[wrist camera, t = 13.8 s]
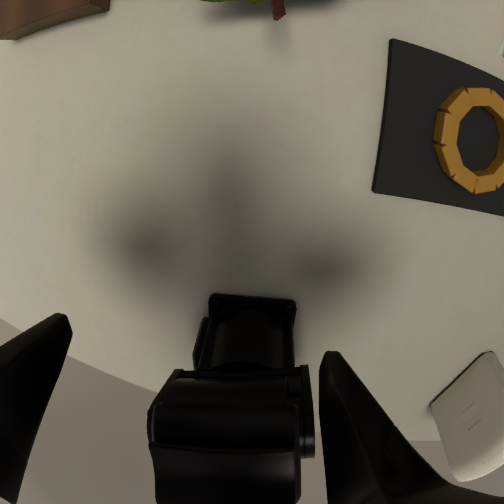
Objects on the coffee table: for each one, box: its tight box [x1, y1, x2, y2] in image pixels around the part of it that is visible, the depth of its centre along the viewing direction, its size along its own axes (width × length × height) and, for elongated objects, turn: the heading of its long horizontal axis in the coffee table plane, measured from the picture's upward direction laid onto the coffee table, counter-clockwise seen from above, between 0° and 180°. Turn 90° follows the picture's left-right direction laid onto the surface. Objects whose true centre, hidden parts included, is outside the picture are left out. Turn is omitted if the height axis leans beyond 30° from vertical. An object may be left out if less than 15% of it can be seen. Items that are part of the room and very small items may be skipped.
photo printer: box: [431, 352, 504, 482], centre depth 23 cm, size 10×4×12 cm, turn 156°
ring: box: [433, 87, 504, 194], centre depth 15 cm, size 7×7×1 cm
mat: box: [372, 38, 504, 216], centre depth 16 cm, size 14×10×1 cm
